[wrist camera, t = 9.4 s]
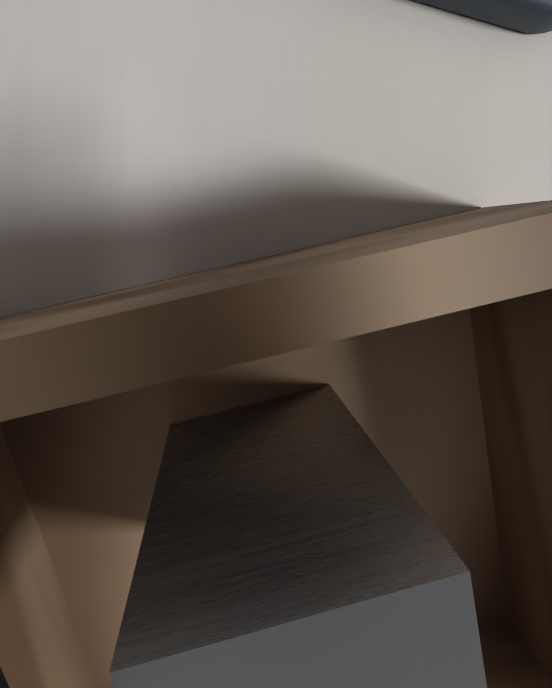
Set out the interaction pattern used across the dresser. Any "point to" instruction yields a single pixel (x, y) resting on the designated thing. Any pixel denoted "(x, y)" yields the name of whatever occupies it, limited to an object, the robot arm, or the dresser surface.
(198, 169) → the dresser surface
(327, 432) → the grey block
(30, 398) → the open wooden box
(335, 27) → the dresser surface
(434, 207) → the dresser surface
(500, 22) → the phone case
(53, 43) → the dresser surface
